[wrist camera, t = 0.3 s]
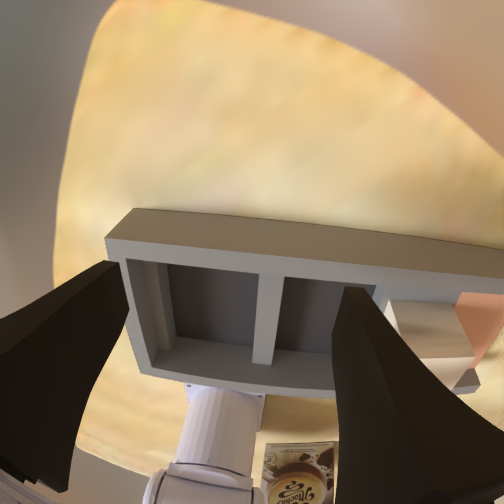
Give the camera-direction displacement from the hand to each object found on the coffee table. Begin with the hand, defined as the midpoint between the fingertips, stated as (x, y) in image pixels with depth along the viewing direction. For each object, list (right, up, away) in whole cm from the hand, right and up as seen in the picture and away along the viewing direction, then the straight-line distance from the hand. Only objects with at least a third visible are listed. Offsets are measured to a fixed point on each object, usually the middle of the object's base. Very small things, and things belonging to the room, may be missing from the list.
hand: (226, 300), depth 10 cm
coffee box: (+7, -25, +27) cm, 37 cm away
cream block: (+12, -4, +10) cm, 16 cm away
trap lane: (+8, -2, +12) cm, 15 cm away
